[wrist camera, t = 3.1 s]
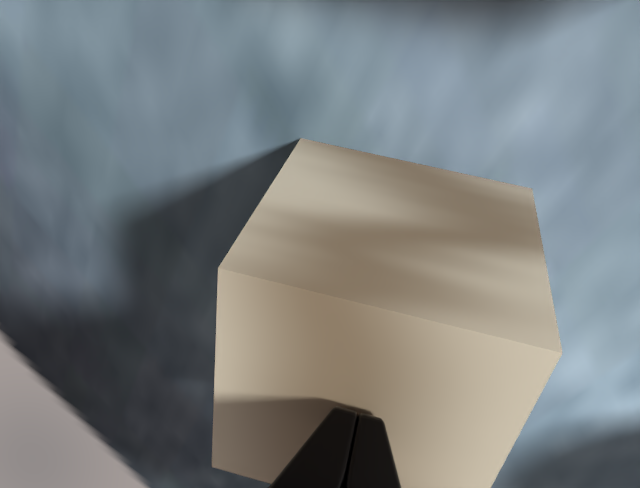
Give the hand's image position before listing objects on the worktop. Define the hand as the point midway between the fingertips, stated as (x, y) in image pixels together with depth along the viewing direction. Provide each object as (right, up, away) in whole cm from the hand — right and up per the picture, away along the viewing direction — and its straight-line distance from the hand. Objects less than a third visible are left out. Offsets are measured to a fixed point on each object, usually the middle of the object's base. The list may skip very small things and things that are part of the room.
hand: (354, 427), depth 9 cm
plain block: (+1, +3, +4) cm, 5 cm away
